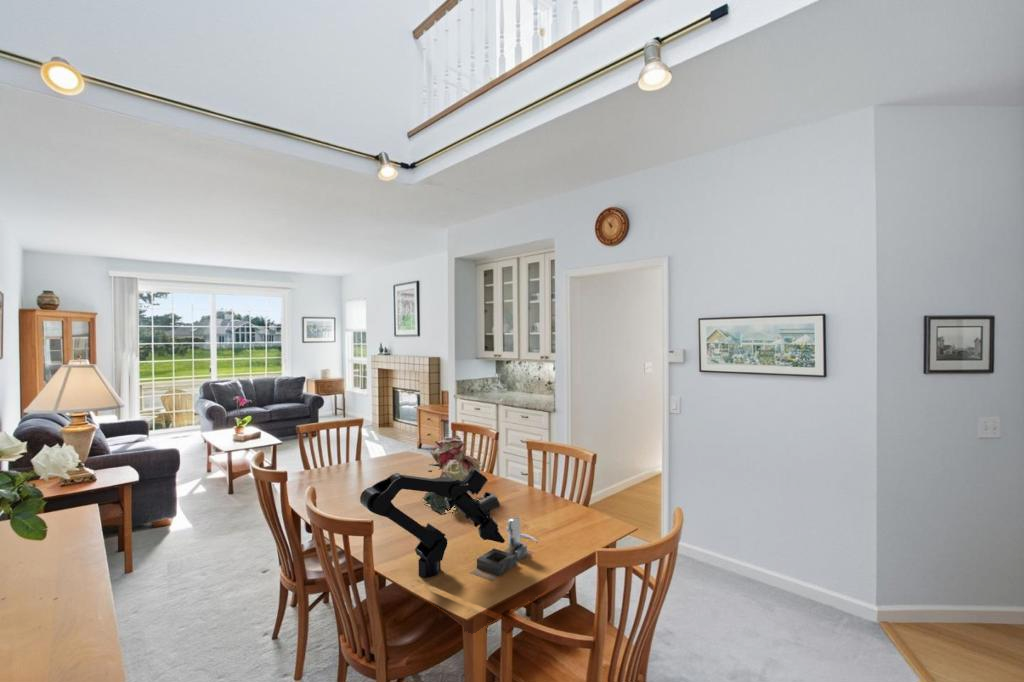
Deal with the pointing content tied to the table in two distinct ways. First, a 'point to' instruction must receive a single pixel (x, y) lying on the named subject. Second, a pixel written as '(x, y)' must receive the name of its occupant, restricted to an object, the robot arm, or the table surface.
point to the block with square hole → (499, 562)
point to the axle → (513, 534)
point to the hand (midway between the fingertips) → (500, 536)
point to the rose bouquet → (450, 468)
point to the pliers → (525, 535)
